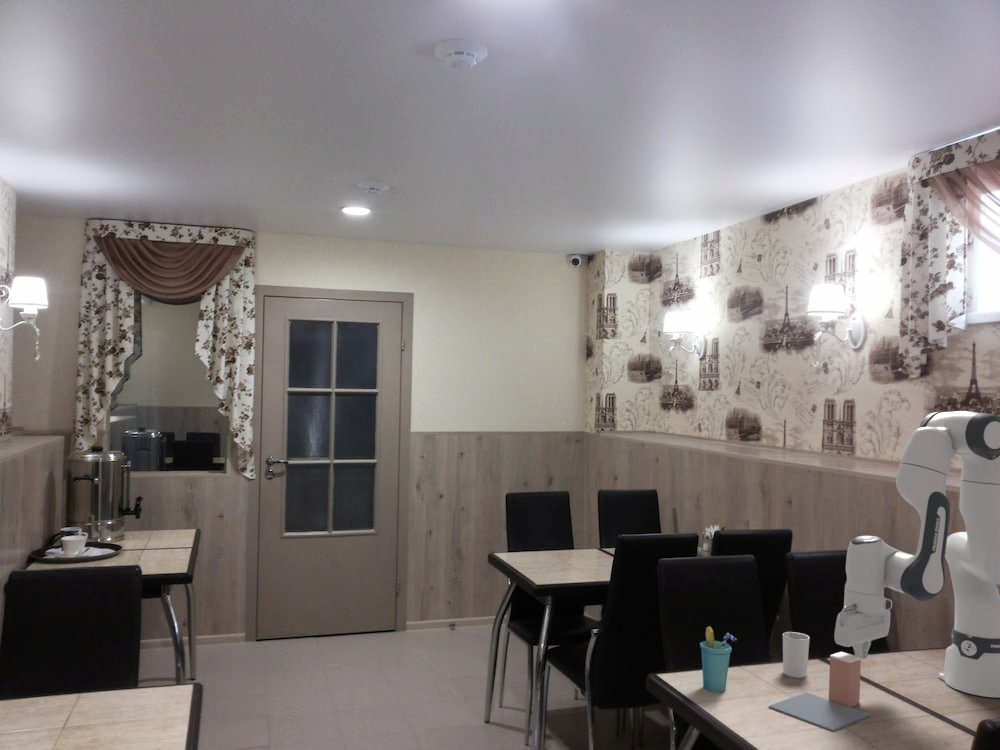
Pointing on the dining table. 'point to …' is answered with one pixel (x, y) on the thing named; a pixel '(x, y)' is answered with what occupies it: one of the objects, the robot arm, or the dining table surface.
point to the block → (844, 679)
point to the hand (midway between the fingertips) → (860, 658)
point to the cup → (715, 661)
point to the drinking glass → (795, 654)
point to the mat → (819, 711)
